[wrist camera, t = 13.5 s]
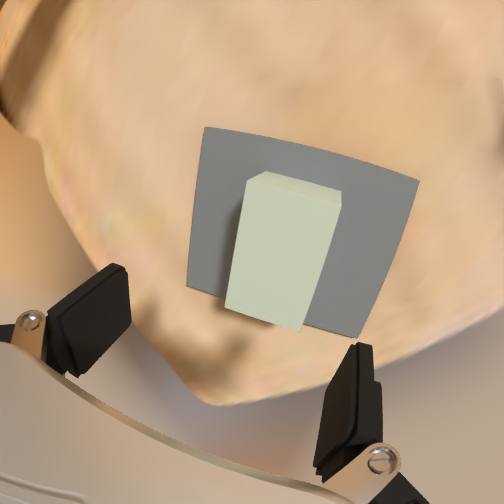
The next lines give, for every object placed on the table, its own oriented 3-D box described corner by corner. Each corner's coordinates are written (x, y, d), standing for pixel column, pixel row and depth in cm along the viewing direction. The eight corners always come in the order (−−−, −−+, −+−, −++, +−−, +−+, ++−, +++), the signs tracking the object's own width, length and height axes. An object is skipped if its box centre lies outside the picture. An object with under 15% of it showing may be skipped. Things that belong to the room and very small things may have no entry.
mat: (189, 282, 27) (186, 285, 26) (208, 126, 21) (204, 126, 20) (357, 334, 24) (357, 338, 23) (417, 179, 18) (419, 181, 17)
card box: (265, 171, 20) (247, 180, 16) (341, 191, 19) (341, 206, 15) (244, 278, 24) (224, 307, 20) (308, 298, 23) (299, 331, 19)
